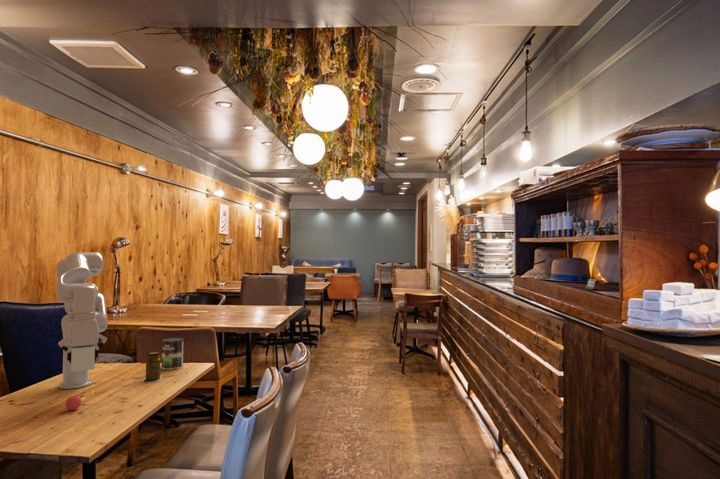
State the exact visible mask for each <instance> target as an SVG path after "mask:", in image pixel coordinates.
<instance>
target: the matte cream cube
mask: <svg viewBox="0 0 720 479" xmlns="http://www.w3.org/2000/svg"><path fill="white" fill-rule="evenodd" d="M95 361H96V360H95V346H93V345H90V346H79V347H73V348H72V351H71V372H75V371H84V370H88V371H90V370H95V363H96V362H95Z"/></svg>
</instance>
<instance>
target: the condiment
mask: <svg viewBox="0 0 720 479" xmlns="http://www.w3.org/2000/svg"><path fill="white" fill-rule="evenodd" d="M160 355H161V353H160V352H159V351H151V352H147V354H146V356H147V357H146V360H145V377H144V378H143V383H152V382H153V383H154V382H162V376H161V358H160V357H161V356H160Z"/></svg>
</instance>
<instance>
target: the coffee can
mask: <svg viewBox="0 0 720 479" xmlns="http://www.w3.org/2000/svg"><path fill="white" fill-rule="evenodd" d="M184 340H185V339H184V337H183V338H182V337H168V338H163V339H162V340H161V366H160V369H162V370H166V371H167V370H169V371H170V370H171V371H172V370H178V369H181V368H183V367H184Z"/></svg>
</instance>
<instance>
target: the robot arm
mask: <svg viewBox="0 0 720 479" xmlns="http://www.w3.org/2000/svg"><path fill="white" fill-rule="evenodd" d="M103 268H104V257H103V256H102V254H101V253H99V252H96V251H95V252H93V251H92V252H91V251H90V252H88V251H87V252H84V251H83V252H81V251H78V252H72V253H69V254H68V255H67V256H66V258H65V259H61V260H59V261H58V262H57V264H56V268H55V270H56V272H55V273H56V277H57V281H56V285H55V291H56V296H57V297H56V298H57V300H58V301H59V302H61V303H63V305H64V310H65V312H66V314H65V315H64V316H63V317H62V319H61V332H62V339H61V340H60V341H58V343H57V345H58V346H59V347H60V348H61V349H62V352H63V354H62V356H63V357H62V381H61V382H59V383H58V384H57V387H58V388H59V389H63V390H71V389H80V388H85V387H87V386H90V385H92V383H93V379H91V378H89V370H84V371H75V372H71V351H72V348H73V347H79V346H90V345H93V346H95V361H97V359H98V358H99V350H100V349H101V348H102V347H103V346H104V344H105V343H106V342H107V340H108V338H107V336H104V335H102V334H101V333H103V332H105V331H106V330H107V329H108V324H109V321H108V320H109V319H108V313H107V312H108V311H107V305H106V303H107V302H106V299H105V296H104V295H103V294H102V293H100V292H99V288H98V286H97V285H96V284H95V283H92V282H87V281H88V280H89V279H90V277H96V276H98V275H99V274H100V273H101V272H102V270H103ZM99 339H100V340H101V341H100V342H99Z"/></svg>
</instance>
